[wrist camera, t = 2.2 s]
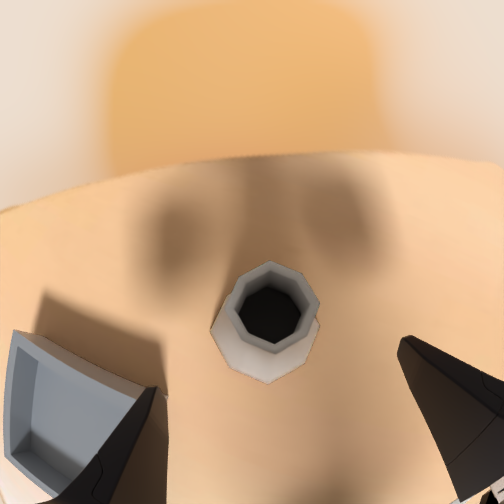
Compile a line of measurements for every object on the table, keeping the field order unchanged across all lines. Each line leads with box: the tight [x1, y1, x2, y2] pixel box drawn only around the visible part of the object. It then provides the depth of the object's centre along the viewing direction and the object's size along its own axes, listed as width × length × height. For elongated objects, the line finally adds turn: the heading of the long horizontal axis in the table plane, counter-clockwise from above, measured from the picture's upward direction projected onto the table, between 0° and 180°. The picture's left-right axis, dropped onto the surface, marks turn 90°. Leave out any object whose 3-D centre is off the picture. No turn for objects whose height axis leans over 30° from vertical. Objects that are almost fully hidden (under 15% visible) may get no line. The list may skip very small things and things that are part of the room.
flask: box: [210, 260, 320, 384], centre depth 14 cm, size 7×7×10 cm
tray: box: [3, 330, 168, 498], centre depth 14 cm, size 13×13×4 cm
